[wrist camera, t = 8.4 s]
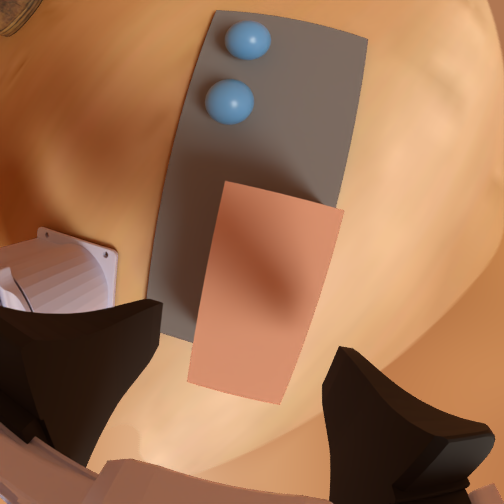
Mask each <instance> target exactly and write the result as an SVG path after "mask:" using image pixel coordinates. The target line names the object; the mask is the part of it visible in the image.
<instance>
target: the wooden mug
mask: <svg viewBox="0 0 504 504" xmlns="http://www.w3.org/2000/svg"><path fill="white" fill-rule="evenodd" d="M41 1H42V0H0V34H1V35H3V36H10V35H12V34H13V33H15V32H16V31H17V30H18V29H19V28H20V27H22V25H23V24H24V23H25V22H26V21H27V20H28V19H29V18H30V16H31V15H32V14H33V13H34V11H35V10H36V9H37V7H38V6H39V4H40V2H41Z"/></svg>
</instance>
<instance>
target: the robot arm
mask: <svg viewBox="0 0 504 504" xmlns="http://www.w3.org/2000/svg"><path fill="white" fill-rule="evenodd" d="M48 234H49V236H48ZM106 252H107V253H108V257H107V256H106ZM117 262H118V254H117V252H116V251H115V250H114V249H111V248H108V247H104V246H101V245H98V244H95V243H91V242H88V241H85V240H82V239H79V238H76V237H73V236H69V235H66V234H63V233H60V232H57V231H54V230H51V229H48V228H45V227H39V228H38V230H37V238H35V239H31V240H27V241H23V242H19V243H16V244H12V245H8V246H5V247H1V248H0V498H1V499H3V500H4V501H5V502H6V503H7V504H504V502H503V500H502V498H501V496H500V494H499V492H498V490H497V488H496V487H495V484H494V483H493V484H489V485H487V486H484V487H481V488H479V489H476V490H474V491H472V492H471V493H469V494H467V492H466V490H465V488H467V487H468V486H469V485H470V482H469V480H468V478H467V477H468V476H469V475H470V474H471V473H472V472H473V471H474V470H475V469H476V468H477V467H478V466H479V465H480V464H481V463H482V462H483V460H484V459H485V458H486V457H487V455H488V454H489V453H490V451H491V449H492V448H493V445H494V442H495V436H494V434H493V433H492V431H491V430H490V428H489V427H488V426H487V425H486V424H484V423H479V422H475V421H470V420H466V419H463V418H459V417H457V416H454V415H451V414H448V413H446V412H443V411H441V410H438V409H436V408H434V407H432V406H430V405H428V404H426V403H424V402H422V401H421V400H419V399H417V398H416V397H414V396H412V395H411V394H409V393H408V392H406V391H405V390H403V389H402V388H400V387H399V386H398V385H396V384H395V383H394V382H392V381H391V380H390V379H389V378H388V377H386V376H385V375H384V374H383V373H382V372H380V371H379V370H378V369H377V368H376V367H375V366H374V365H372V364H371V363H370V362H369V361H368V360H367V359H366V358H364V357H363V356H362V355H361V354H360V353H358V352H357V351H356V350H354V349H353V348H347V347H341V346H339V347H338V350H337V352H336V355H335V357H334V359H333V362H332V364H331V366H330V369H329V371H328V373H327V376H326V378H325V380H324V382H323V384H322V405H323V412H324V418H325V423H326V429H327V435H328V441H329V448H330V469H331V472H330V497H329V501H328V500H325V499H319V498H313V497H308V496H303V495H291V494H280V493H273V492H265V491H258V490H251V489H246V488H240V487H235V486H230V485H225V484H221V483H216V482H212V481H208V480H204V479H200V478H197V477H193V476H190V475H186V474H183V473H180V472H176V471H173V470H170V469H167V468H164V467H161V466H158V465H154V464H150V463H146V462H142V461H138V460H134V459H121V460H110V461H107V463H106V464H105V466H104V467H103V469H102V471H101V472H100V474H97V473H95V472H93V471H91V470H89V469H87V468H86V466H87V464H88V461H89V459H90V457H91V454H92V452H93V450H94V448H95V446H96V443H97V441H98V439H99V437H100V435H101V433H102V431H103V429H104V427H105V426H106V424H107V422H108V420H109V418H110V416H111V415H112V413H113V411H114V409H115V408H116V406H117V404H118V403H119V401H120V400H121V398H122V397H123V395H124V394H125V393H126V392H127V390H128V389H129V388H130V387H131V385H132V384H133V383H134V381H135V380H136V379H137V378H138V376H139V375H140V374H141V372H142V371H143V370H144V369H145V367H146V366H147V365H148V363H149V362H150V360H151V358H152V357H153V355H154V353H155V351H156V349H157V347H158V346H159V338H160V328H161V319H162V310H163V303H162V302H159V301H156V300H153V299H143V300H139V301H135V302H131V303H127V304H123V305H119V306H115V307H114V305H115V287H116V274H117Z"/></svg>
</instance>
